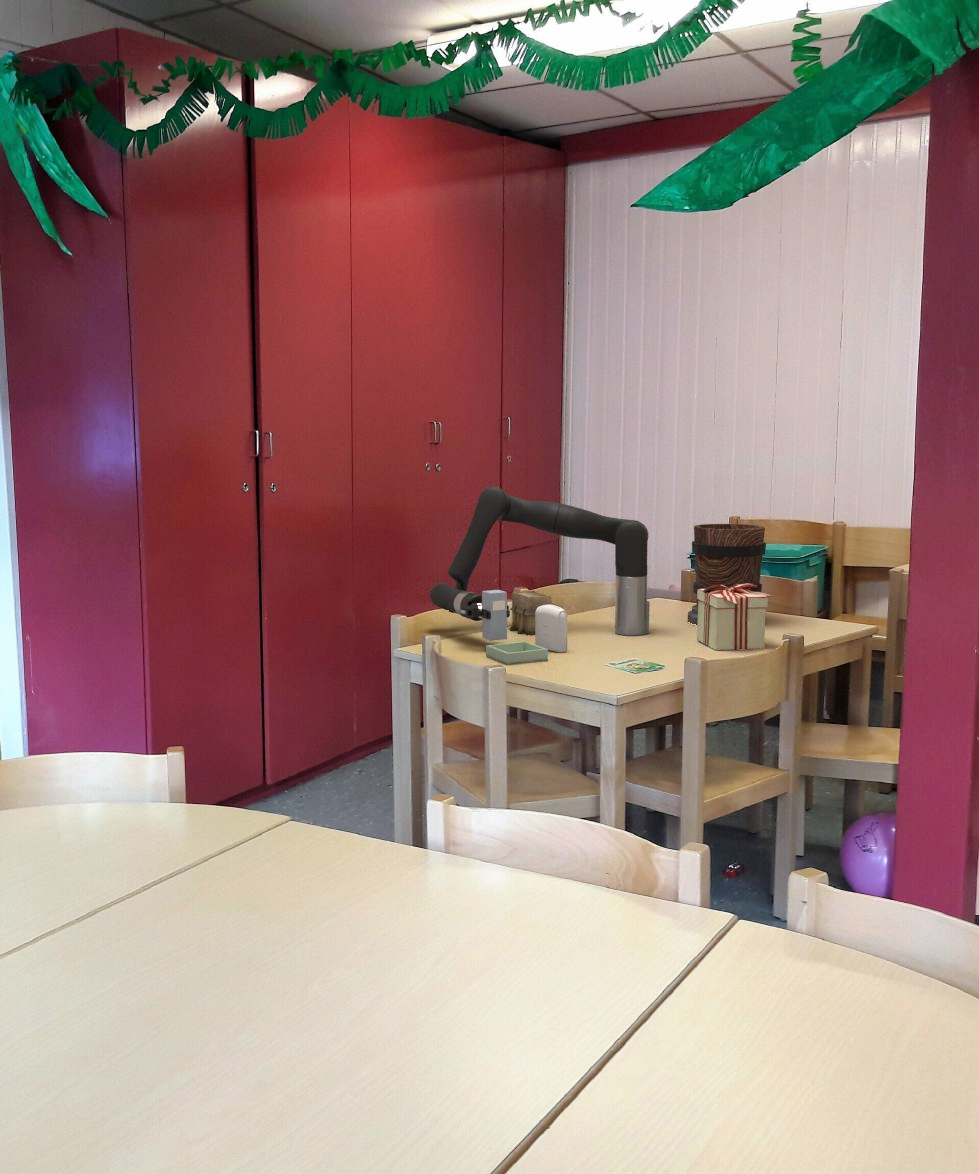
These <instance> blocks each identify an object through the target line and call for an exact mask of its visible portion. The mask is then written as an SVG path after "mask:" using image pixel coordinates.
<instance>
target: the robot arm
mask: <svg viewBox="0 0 979 1174" xmlns="http://www.w3.org/2000/svg"><path fill="white" fill-rule="evenodd" d="M497 521H500V522H509V523H513V524H514V523H515V524H516V523H517V524H522V525H525V526H528V527H531V528H533V529H536V530H538V531H539V530H540V531H543V532H546V533H549V534H553V535H557V536H562V537H565V538H566V537H567V538H572V539H579V540H580V539H581V540H583V539H584V540H597V541H603V542H606V543H609V544H612V545H615V546H614V549H615V550H614V551H615V552H614V553H615V554H614V557H615V558H614V559H615V561H614V562H615V563H614V564H615V566H614V567H615V597H614V598H615V600H614V601H615V602H614V603H615V604H614V606H615V607H614V612H615V613H614V616H615V617H614V633H615V634H618V635H622V636H623V635H624V636H642V635H645V634H649V633H650V606H651V605H650V601H649V600H648V598H647V597H648V541H649V531H648V528H647V527H646V525H645V524H644V523H642V522H641V521H639V520H637V519H636V520H635V519H627V518H626V519H624V518H617V517H610V516H605V515H601V514H599V513H596V512H593V511H590V510H587V509H584V508H580V507H576V506H573V505H568V504H565V503H559V502H554V501H544V500H543V501H539V500H535V501H534V500H528V499H524V498H520V497H516V496H514V495H511V494H508V493H506V491H505V490H503V489H502V488H501V487H498V486H488V487H486V488H484V489H483V490H482V491H481V493H480V494H479V497H478V499H477V503H476V505H475V510H474V513H473V517H472V519H471V520H470V523H469V524H470V525H469V526H468V529H467V531H466V533H465V535H464V537H463V539H462V541H461V543H460V546H459V547H458V549H457V552H456V553H455V555H454V557H453V560H452V562H451V563H450V565H449V567H448V570H447V575H448V576H449V577H450V578H451V579H453V581H454V582H455V587H454V586H452V585H449V584H447V583H444V582H440V583H437V584H435V585H433V586H432V587H431V589H430V592H429V599H430V602H431V603H432V604H433V605H434V606H436V607H438V608H441V609H442V610H444V611H446V610H449V611H448V613H451V614H457V615H460V616H461V617H463V618H466V619H468V620H472V621H474V622H479V621H482V618H485V619H491V612H490V611H488V610H485V609H484V610H483V608H482V594H480V593H476V592H473V591H468V587H469V583H470V579H471V577H472V575H473V574H474V571H475V569H476V567H477V565H478V562H479V560H480V558H481V556H482V553H483V549H484V546H485V543H486V541H487V538H488V536H489V534H490V532H491V530H492V528H493V526H494V525H495V524H496V522H497ZM510 616H511V610H510V605H508V604H507V619H508V618H510Z"/></svg>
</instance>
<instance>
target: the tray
mask: <svg viewBox="0 0 979 1174" xmlns="http://www.w3.org/2000/svg"><path fill="white" fill-rule="evenodd" d="M485 656H486V657H487V658H489V659H492V660H494V661H496V662H499V663H501V664H503V665H506V666H511V665H519V664H529V663H536V662H537V663H538V661H539V662H547V661H546V660H548V659H549V650H548V649H546V648H543V647H540V646H537V645H535V644H534V643H532V642H529V641H527V640H526V641H515V642H506V643H497V644H496V643H495V644H488V645H487V644H486V645H485ZM548 661H549V660H548Z"/></svg>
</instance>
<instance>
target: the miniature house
mask: <svg viewBox="0 0 979 1174" xmlns="http://www.w3.org/2000/svg"><path fill="white" fill-rule="evenodd" d="M511 593H512V594H511V599H512V600H511V608H509V610H510V611H511V624H510V627H509V630H510V632H517V631H518V632H517V634H518V635H519V634H520V635H525V634H526V635H525V636H528V635H530V636H535V612H536V609H537V608H538V607H539V606H542V605H555V606H558V607H560V608H562V609H564V607H563V606H562V605H560V604H556V603H553V600H552V598H553V597H552V596H551V595H547V594H544V593H543V594H542V593H539V592H537V591H536V590H526V591H525V590H523V591H512V592H511ZM515 630H516V631H515Z"/></svg>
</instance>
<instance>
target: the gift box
mask: <svg viewBox="0 0 979 1174" xmlns="http://www.w3.org/2000/svg"><path fill="white" fill-rule="evenodd" d="M750 587H758V586H757V585H753V584H749V583H746V584H737V585H736V586H734V587H732V588H729V587H726V586H724V585H714V586H710V587H708V588H706V589H698V592H697V600H699V601H698V625H697V626H696V627H697V628H696V640H697V641H699V642H700V643H702V644H703V645H705V644H706V645H705V646H707V645H708V646H707V647H709V646H710V647H709V648H711V649H712V648H713V650H714V649H715V650H714V651H737V650H736V649H748V650H761V649H760V648H764V649H765V640H766V639H765V638H766V637H765V634H766V626H765V619H766V620H767V614H766V613H767V609H768V606H769V598H774V597H775V596H773V595H771V594H769V593H765V592H762V591H761V592H756V591H752V590H750ZM731 649H732V650H731Z"/></svg>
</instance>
